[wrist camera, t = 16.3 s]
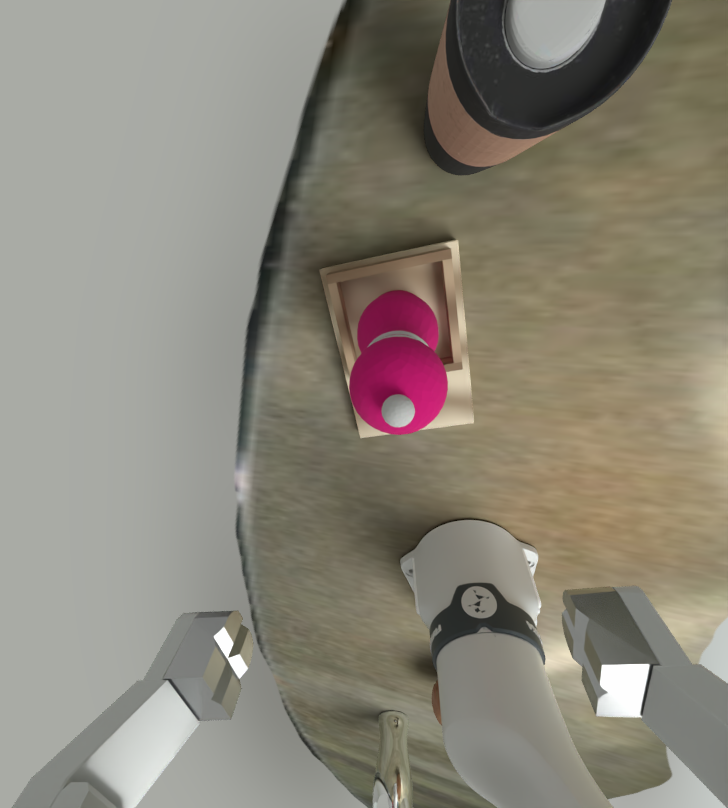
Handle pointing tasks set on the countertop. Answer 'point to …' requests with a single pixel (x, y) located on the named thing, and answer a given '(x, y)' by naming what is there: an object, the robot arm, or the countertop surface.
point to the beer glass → (393, 763)
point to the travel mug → (528, 72)
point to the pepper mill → (398, 365)
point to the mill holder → (427, 279)
